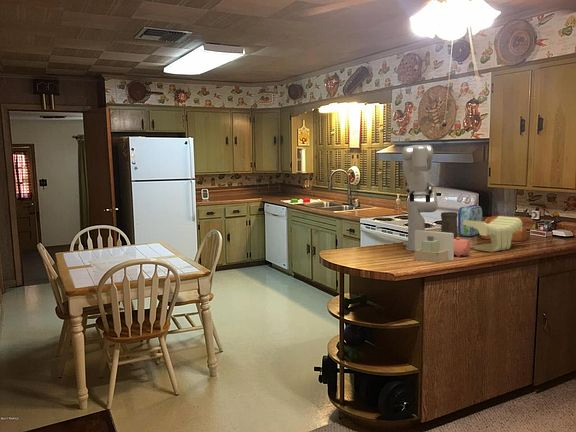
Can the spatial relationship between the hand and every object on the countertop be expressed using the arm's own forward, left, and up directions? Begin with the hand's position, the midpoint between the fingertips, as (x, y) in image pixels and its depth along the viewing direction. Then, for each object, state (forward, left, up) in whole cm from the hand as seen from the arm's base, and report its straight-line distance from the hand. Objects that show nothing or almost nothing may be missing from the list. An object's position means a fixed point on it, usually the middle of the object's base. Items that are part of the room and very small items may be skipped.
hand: (419, 201), depth 258 cm
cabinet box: (+8, -2, -26) cm, 27 cm away
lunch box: (-19, +93, -30) cm, 100 cm away
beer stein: (-13, +54, -30) cm, 63 cm away
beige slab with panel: (+6, -1, -30) cm, 31 cm away
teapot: (+13, +17, -30) cm, 37 cm away
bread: (+7, +87, -31) cm, 93 cm away
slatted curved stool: (+18, +46, -30) cm, 58 cm away
